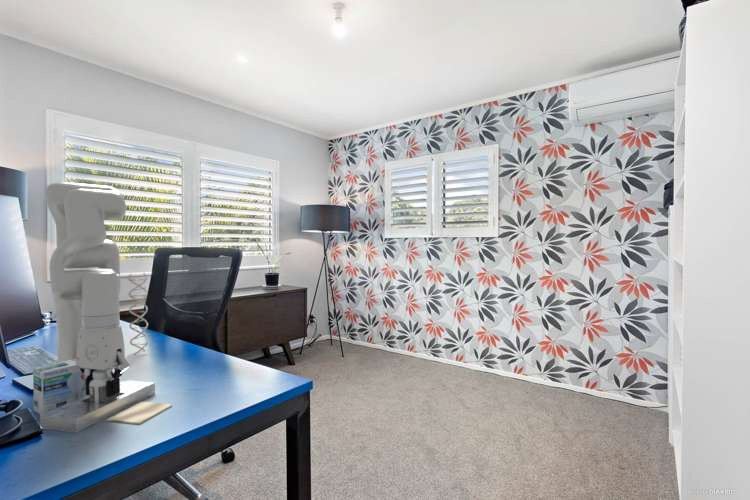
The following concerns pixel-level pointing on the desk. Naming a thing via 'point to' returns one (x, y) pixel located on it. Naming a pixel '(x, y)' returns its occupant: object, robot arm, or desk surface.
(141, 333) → the dna model
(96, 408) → the white slotted slab
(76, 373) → the light bulb box
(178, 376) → the desk surface
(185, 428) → the desk surface
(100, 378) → the pill bottle
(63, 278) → the robot arm
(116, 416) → the wooden pad
